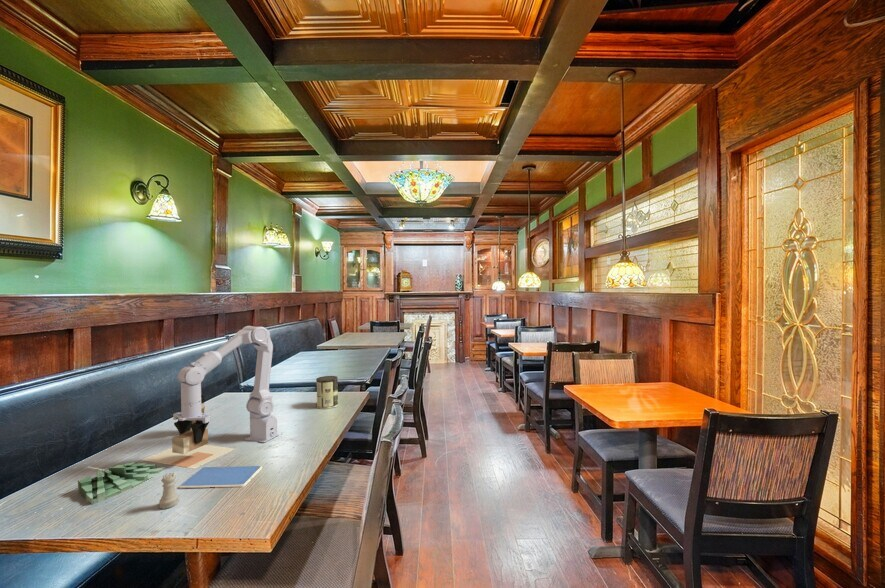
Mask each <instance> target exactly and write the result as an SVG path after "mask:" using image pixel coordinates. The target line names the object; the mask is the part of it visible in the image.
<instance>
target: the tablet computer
mask: <svg viewBox="0 0 885 588" xmlns="http://www.w3.org/2000/svg"><path fill="white" fill-rule="evenodd" d="M262 469H263V466H261V465H244V466H242V465H241V466H240V465H239V466H238V465H237V466H204V467H202V468H200V469H199V470H197V472H195V473H194V474H192V475H191V476H190V477H188V478H187V479H186V480H185V481H183V482H182V483H181V484H180V485H178V489H200V488H201V489H207V488H208V489H209V488H210V487H215V488H244V487H245V486H247V485H248V483H250V481H252V480H253V478H255V477H256V475H257V474H259V472H260V471H261V470H262ZM210 489H211V488H210Z"/></svg>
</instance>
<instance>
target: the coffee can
mask: <svg viewBox="0 0 885 588" xmlns="http://www.w3.org/2000/svg"><path fill="white" fill-rule="evenodd" d="M315 379H316V408H317V409H320V410H329V409H333V408H336V407H338V406H339V399H338V398H339V395H338V394H339V393H338V390H339V389H338V376H336V375H324V376H323V375H322V376H320V377H317V378H315Z"/></svg>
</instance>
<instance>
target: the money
mask: <svg viewBox="0 0 885 588" xmlns="http://www.w3.org/2000/svg"><path fill="white" fill-rule="evenodd" d="M166 469H167V468H166V466H165V467H157V463H149V464H147V462H141V463H140V462H139V463H136V462H135V461H134V462H126V463H123V464H117V465H115V466H109V467H108V469H105V470H103V472H102V469H99V470H97V473H96V474H97V475H96V476H95V477H92V475H90V476H87V477H84V478H81V479H79V480H77V487H78V488H77V490H78V491H77V492H78V494H79V495H80V494H81V495H80V496H81V497H83V498H84V499H85V498H86V499H85V500H86V502H88V503H89V502H90V504H91V505H95V504H98V503H101V502H104V501H105V500H108V499H111V498H113V497H116V496H117V495H120V494H124V493H125V492H127V490H128V491H130V490H132V489H134V487H135V488H137V487H138V486H139V487H140V484H141V485H143V484H144V483H143V482H145V481H147V480H149V479H151V478H154V477H155V476H157V475H158V474H160V473H161V472H163V471H164V470H166ZM151 480H152V479H151ZM149 481H150V480H149ZM147 482H148V481H147ZM142 483H143V484H142ZM145 483H146V482H145ZM136 486H137V487H136ZM129 489H130V490H129ZM110 497H111V498H110Z"/></svg>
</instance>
